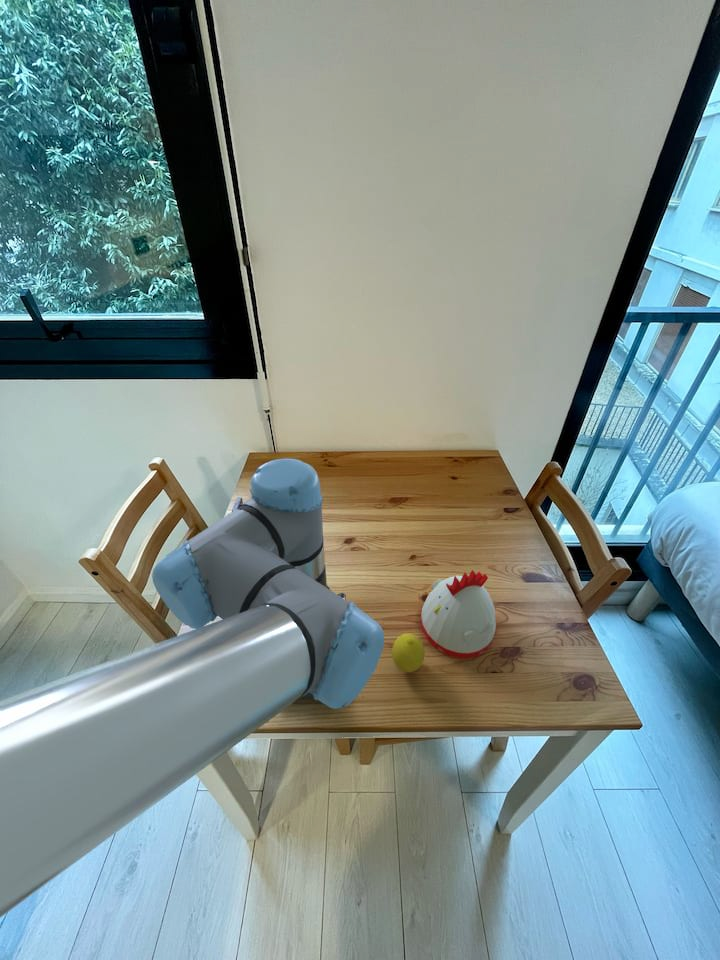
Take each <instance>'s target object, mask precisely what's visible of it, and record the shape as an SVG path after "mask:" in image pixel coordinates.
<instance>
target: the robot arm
mask: <svg viewBox="0 0 720 960" xmlns="http://www.w3.org/2000/svg"><path fill="white" fill-rule="evenodd" d="M249 491H250V495H251V497H250V498H249V499H247V500H246V501H243V502H244V503H243V504H241V505H240V506H239V507H238V508H237V509H236V510H234V511H233V512H232V511H231V512H229V513H228V514H226V515H225V516H223V517H222V518H220V519H218V520H217V521H216V522H214V523H213V524H211V525H210V526H208V527H206V528H205V529H204V530H202V531H200V532H199V533H197V534H196V535H194V536H193V537H191V538H189V539H186V540H184V541H183V542H182V544H180V545H179V546H177V547H176V548H175V549H173V550H172V551H171V552H169V553H168V554H167V555H165V556H164V558H162V559H161V560H160V561H159V562H157V563H156V564H155V565H154V567H153V569H152V573H151V578H152V582H153V583H152V584H153V585H154V588H155V590H156V592H157V594H158V595H159V597H160V599H161V600H162V601H163V602H164V604H165V605H166V607H167V608H168V609H169V610H170V612H171V613H172V614H173V615H174V616H175V617H176V618H177V619H178V621H180V622H181V623H182V624H184V626H188V627H189V628H190V629H193V630H190V631H187V632H184V633H181V634H179V635H176V636H174V637H171V638H167V639H165V640H162V641H160V642H157V643H154V644H152V645H149V646H146V647H143V648H140V649H138V650H134V651H132V652H129V653H127V654H124V655H121V656H119V657H116V658H113V659H110V660H108V661H104V662H101V663H99V664H97V665H94V666H91V667H88V668H86V669H83V670H80V671H77V672H74V673H72V674H70V675H66V676H64V677H60V678H57V679H56V680H53V681H50V682H47V683H44V684H41V685H38V686H36V687H34V688H30V689H28V690H26V691H22V692H19V693H17V694H14V695H11V696H8V697H6V698H3V699H1V700H0V919H1V918H2V917H3V916H5V915H6V914H8V913H9V912H10V911H12V910H13V909H15V908H16V907H17V906H18V905H20V904H22V902H24V901H25V900H26V899H29V898H30V897H31V896H32V895H33V894H35V893H36V892H37V891H39V890H40V889H42V888H43V887H44V886H45V885H47V884H49V883H50V882H51V881H52V880H54V879H55V878H57V877H58V876H59V875H61V874H62V873H63V872H65V871H66V870H67V869H69V868H70V867H71V866H73V865H75V863H78V861H79V860H81V859H83V857H85V856H87V855H88V854H89V853H91V852H92V851H93V850H95V849H96V848H98V847H99V846H101V844H103V843H104V842H105V841H107V840H108V839H110V838H111V837H113V836H115V834H117V833H118V832H119V831H120V830H122V829H123V828H125V827H126V826H128V825H129V824H130V823H131V822H133V821H134V820H135V819H137V818H138V817H140V816H141V815H143V813H145V812H146V811H148V810H150V808H152V807H153V806H155V805H156V804H157V803H159V802H160V801H161V800H163V799H164V798H166V797H167V796H168V795H170V794H171V793H172V792H174V791H175V790H177V789H178V788H179V787H181V786H182V785H183V784H185V783H186V782H188V781H189V780H191V778H193V777H194V776H196V775H197V774H198V773H200V772H201V771H202V770H204V769H205V768H206V767H208V766H209V765H211V764H212V763H213V762H214V761H216V760H217V759H219V758H221V756H223V755H224V754H226V753H227V752H228V751H230V750H231V749H233V748H234V747H235V746H236V745H238V744H239V743H240V742H242V741H243V740H245V739H246V738H247V737H248V736H250V735H251V734H253V733H255V731H257V730H259V729H260V728H261V727H262V726H264V725H265V724H266V723H268V722H269V721H270V720H272V719H273V718H274V717H276V716H277V715H279V714H280V713H281V712H283V711H284V710H285V709H287V708H289V706H291V705H292V704H294V703H295V702H296V701H298V700H300V699H302V698H301V697H303V696H304V695H306V694H307V693H309V692H310V693H311V694H312V695H313V697H314V699H313V700H315V701H319V702H320V703H322V704H324V705H325V706H327V707H328V708H330V709H334V710H337V709H343V708H345V707H347V706H349V705H350V704H351V703H352V702H353V701H354V700H355V699H356V698H357V697H358V696H359V695H360V694H361V692H362V691H363V690H364V688H365V687H366V686H367V683H368V682H369V681H370V679H371V677H372V675H373V673H374V672H375V669H376V668H377V666H378V664H379V661H380V658H381V657H382V654H383V650H384V645H385V632H384V630H383V627H382V625H380V623H379V622H377V621H376V620H374V619H373V618H372V617H371V616H369V615H368V614H367V613H365V612H364V611H363V610H362V609H360V608H359V607H358V606H356V604H355V602H353V601H348V600H347V599H346V598H347V595H346V593H344V592H340V593H335V591H333V590H331V588H330V587H329V585H328V584H327V583H328V582H327V570H326V568H327V567H326V555H325V554H326V553H325V552H326V551H325V541H324V529H323V525H324V524H323V500H324V499H323V495H322V491H321V484H320V479H319V475H318V472H317V471H316V469H315V468H314V467H313V466H312V465H311V464H309V463H306V462H304V461H302V460H300V459H296V458H277V459H273V460H269V461H268V462H265V463H263V464H261V465H260V466H259V467H258V468H256V471H255V472H254V474H253V475H252V477H251V478H250V489H249ZM217 617H219V618H220V619H219V620H217V621H215V620H216V619H217ZM214 621H215V622H214ZM210 622H212V623H210Z"/></svg>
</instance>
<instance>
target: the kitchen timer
mask: <svg viewBox="0 0 720 960" xmlns="http://www.w3.org/2000/svg"><path fill="white" fill-rule="evenodd" d="M488 579H489V577H488V575H487V574H486V573H484V574H482V573H481V571H478V572H477V573H476V572H475V571H474V570H473V569H472V570H471V571H470V573H469V575H468V574H467V573H466V572H464V573H463V574H462V575H457V574H456V575H453V576H450V577H448V578H446V579H441V578H439V579H437V580H435V581H434V582H433V583H432V584H431V591H430V592H429V593H428V594H427V597H426V599H425V601H424V603H423V605H422V608H421V611H420V621H419V622H420V627H421V631H422V633H423V635H424V636H425V638H426V640H427V641H428V642H429V643H430V644H431V645H432V646H433V647H434V648H435V649H436V650H438V651H439V652H441V653H443V654H444V655H447V656H450V657H453V658H456V659H470V658H475V657H478V656H479V655H481V654H483V653H484V652H486V651H487V650H488V648H489V647H490V646H491V645H492V643H493V639H494V637H495V634H496V629H497V622H496V621H497V619H496V611H495V605H494V602H493V600H492V597H491V594H490V592H488V590H487V589H486V588H485V586H484V584H486V582H487V581H488Z"/></svg>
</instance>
